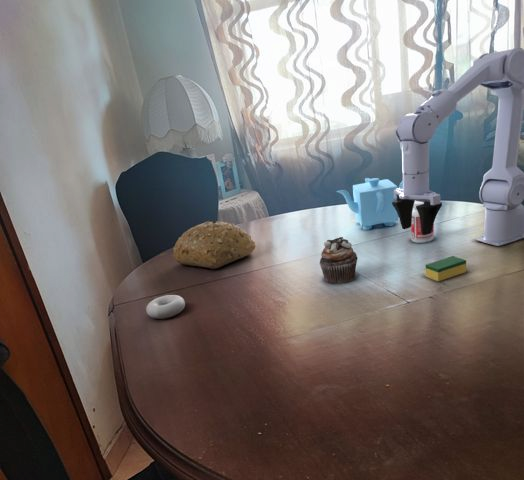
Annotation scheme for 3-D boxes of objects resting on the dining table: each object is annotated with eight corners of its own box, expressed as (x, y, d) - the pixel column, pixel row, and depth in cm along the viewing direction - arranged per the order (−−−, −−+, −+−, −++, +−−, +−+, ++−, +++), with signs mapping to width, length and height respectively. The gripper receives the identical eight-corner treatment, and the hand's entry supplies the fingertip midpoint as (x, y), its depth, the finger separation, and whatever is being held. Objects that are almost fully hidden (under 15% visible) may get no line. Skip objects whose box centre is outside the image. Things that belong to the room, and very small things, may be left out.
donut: (187, 302, 124) (150, 308, 124) (184, 290, 122) (147, 296, 122) (185, 317, 115) (145, 324, 115) (182, 304, 113) (141, 311, 113)
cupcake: (314, 278, 123) (310, 241, 118) (345, 268, 125) (342, 231, 120) (333, 288, 115) (329, 249, 110) (366, 277, 117) (363, 238, 112)
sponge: (452, 267, 113) (452, 255, 112) (465, 272, 109) (466, 260, 108) (425, 276, 111) (425, 264, 110) (438, 281, 107) (438, 269, 106)
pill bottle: (438, 238, 133) (438, 199, 128) (423, 244, 131) (423, 205, 126) (420, 235, 138) (420, 197, 133) (406, 241, 136) (405, 203, 130)
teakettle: (384, 234, 146) (382, 185, 139) (336, 230, 158) (332, 185, 151) (415, 217, 156) (415, 171, 149) (368, 214, 169) (366, 172, 162)
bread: (168, 266, 154) (158, 231, 149) (215, 246, 167) (207, 212, 161) (216, 275, 139) (207, 236, 133) (264, 251, 151) (257, 214, 145)
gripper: (382, 173, 110) (384, 229, 116) (421, 178, 98) (421, 241, 104) (407, 167, 112) (408, 222, 118) (449, 171, 99) (447, 233, 106)
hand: (416, 231), depth 111 cm, fingers open, 7 cm apart
